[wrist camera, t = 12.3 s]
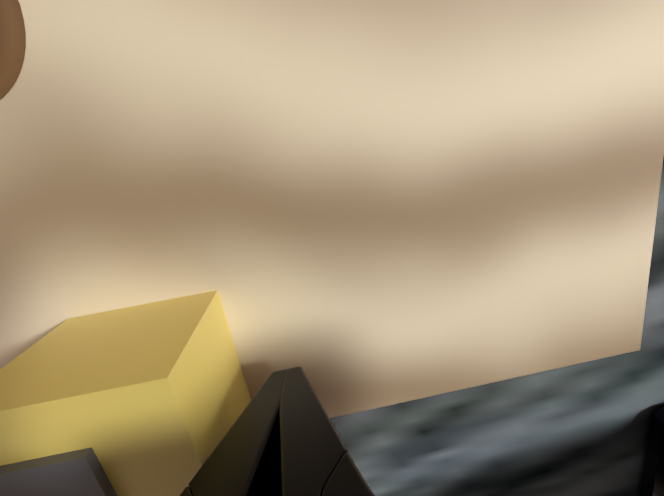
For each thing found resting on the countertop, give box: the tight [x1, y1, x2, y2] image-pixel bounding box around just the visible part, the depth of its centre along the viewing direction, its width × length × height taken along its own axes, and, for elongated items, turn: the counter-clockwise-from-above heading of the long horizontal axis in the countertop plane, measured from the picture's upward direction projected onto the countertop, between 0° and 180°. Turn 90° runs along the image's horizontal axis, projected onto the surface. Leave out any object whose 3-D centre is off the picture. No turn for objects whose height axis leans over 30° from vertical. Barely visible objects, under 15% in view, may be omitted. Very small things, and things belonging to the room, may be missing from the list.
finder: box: [0, 290, 251, 496], centre depth 8 cm, size 5×4×4 cm
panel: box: [0, 0, 664, 418], centre depth 9 cm, size 22×26×1 cm
